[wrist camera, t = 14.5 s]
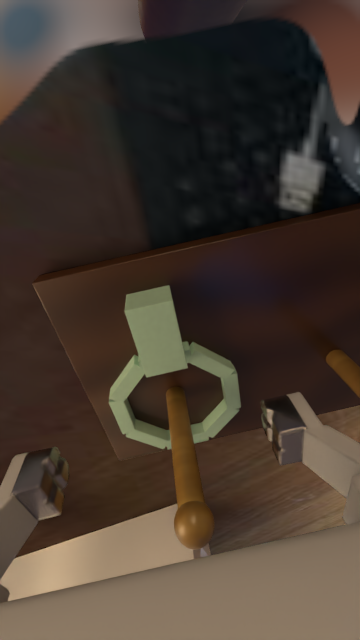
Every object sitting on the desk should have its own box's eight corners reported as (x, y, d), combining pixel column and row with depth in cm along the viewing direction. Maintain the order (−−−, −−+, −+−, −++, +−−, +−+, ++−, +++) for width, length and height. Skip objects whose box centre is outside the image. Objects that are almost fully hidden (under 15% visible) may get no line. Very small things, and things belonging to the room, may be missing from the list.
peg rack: (38, 275, 19) (-96, 420, 8) (433, 186, 20) (803, 214, 9) (120, 447, 29) (107, 622, 18) (385, 386, 29) (534, 520, 18)
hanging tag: (72, 306, 19) (64, 324, 17) (222, 272, 19) (232, 286, 17) (133, 446, 27) (132, 471, 24) (239, 421, 27) (248, 444, 25)
